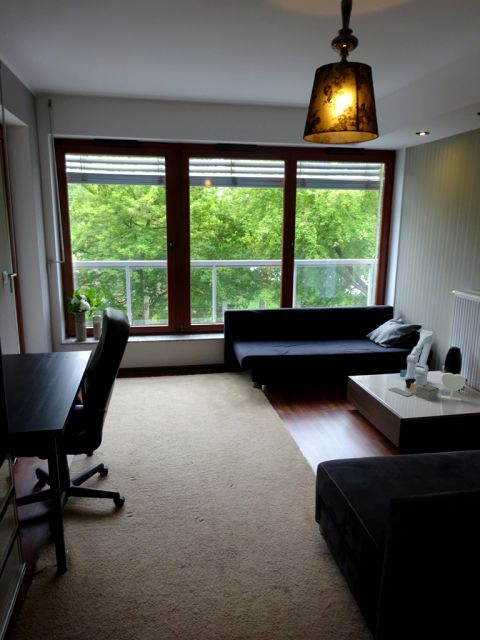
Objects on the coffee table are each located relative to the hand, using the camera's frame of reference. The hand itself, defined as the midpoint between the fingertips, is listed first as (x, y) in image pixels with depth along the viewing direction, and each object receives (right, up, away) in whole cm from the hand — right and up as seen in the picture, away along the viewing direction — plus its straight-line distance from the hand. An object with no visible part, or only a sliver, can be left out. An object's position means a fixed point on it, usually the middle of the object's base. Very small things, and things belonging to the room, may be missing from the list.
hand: (409, 388), depth 339 cm
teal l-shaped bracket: (+13, +3, +28) cm, 31 cm away
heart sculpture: (+26, -6, -12) cm, 29 cm away
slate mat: (-8, -3, -4) cm, 9 cm away
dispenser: (+8, -5, -12) cm, 15 cm away
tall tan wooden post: (+2, -3, -2) cm, 4 cm away
